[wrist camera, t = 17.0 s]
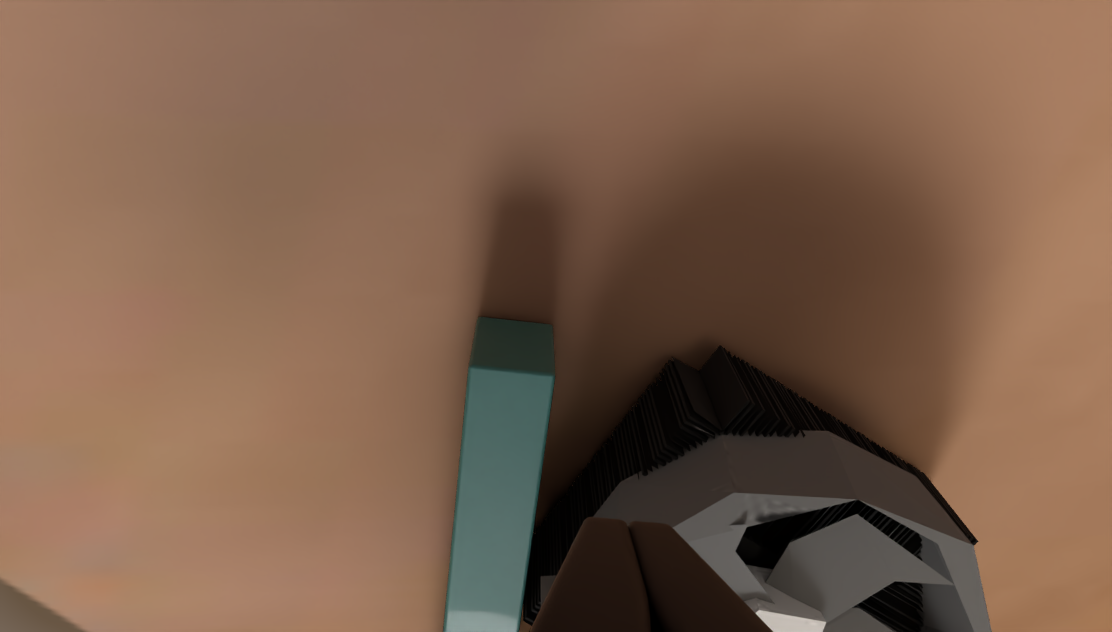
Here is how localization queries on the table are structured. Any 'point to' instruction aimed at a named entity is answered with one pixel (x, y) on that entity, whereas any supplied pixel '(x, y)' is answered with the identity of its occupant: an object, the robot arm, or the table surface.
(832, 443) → the cpu cooler
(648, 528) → the robot arm
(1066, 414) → the table surface
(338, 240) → the table surface
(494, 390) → the corner stop
